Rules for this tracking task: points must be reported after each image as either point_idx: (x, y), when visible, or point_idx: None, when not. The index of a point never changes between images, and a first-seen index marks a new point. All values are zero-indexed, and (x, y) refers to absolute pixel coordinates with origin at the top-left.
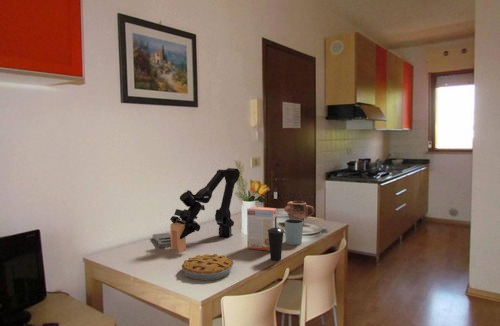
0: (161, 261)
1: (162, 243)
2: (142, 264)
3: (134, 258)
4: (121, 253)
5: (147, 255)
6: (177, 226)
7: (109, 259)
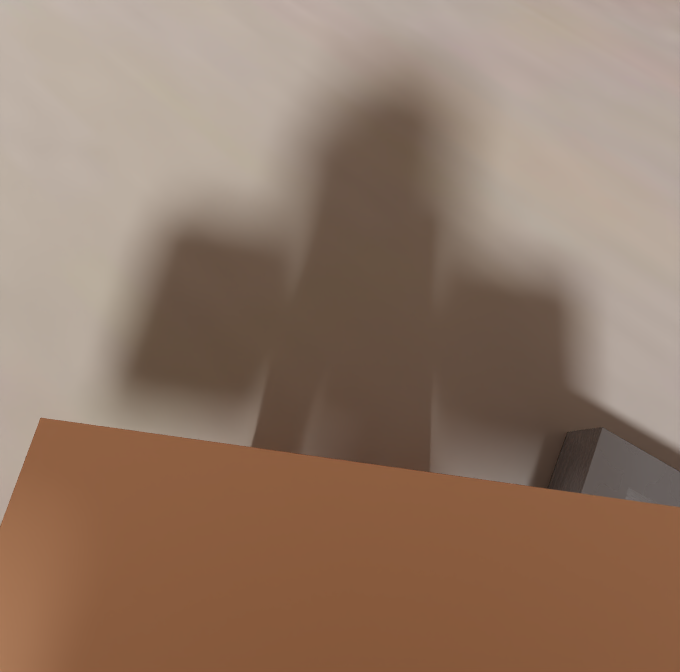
0: (203, 150)
1: (606, 476)
2: (294, 47)
3: (470, 107)
4: (664, 139)
5: (451, 201)
6: (205, 445)
7: (588, 28)
